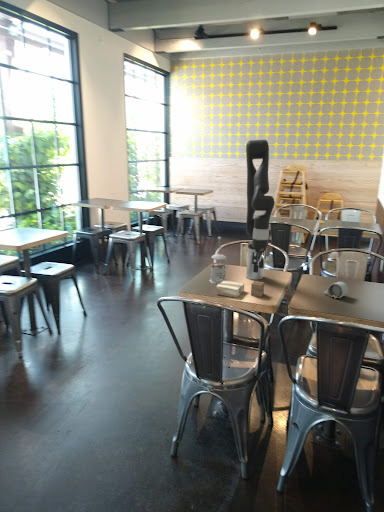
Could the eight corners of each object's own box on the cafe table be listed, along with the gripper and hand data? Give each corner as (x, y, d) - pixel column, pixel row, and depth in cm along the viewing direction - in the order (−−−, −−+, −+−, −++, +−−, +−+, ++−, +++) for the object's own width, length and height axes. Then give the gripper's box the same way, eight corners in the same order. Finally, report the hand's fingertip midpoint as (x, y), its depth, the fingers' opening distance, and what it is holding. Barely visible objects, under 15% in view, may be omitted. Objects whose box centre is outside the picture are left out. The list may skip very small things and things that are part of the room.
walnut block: (254, 292, 193) (254, 281, 192) (263, 294, 191) (264, 282, 190) (250, 295, 189) (251, 283, 187) (260, 297, 187) (261, 285, 185)
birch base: (224, 287, 199) (224, 280, 198) (244, 291, 195) (244, 283, 194) (215, 293, 190) (215, 286, 189) (236, 297, 185) (236, 289, 184)
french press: (205, 280, 209) (206, 236, 203) (219, 276, 217) (221, 233, 210) (218, 285, 202) (219, 239, 196) (232, 281, 210) (234, 236, 203)
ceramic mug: (348, 296, 189) (350, 281, 188) (341, 300, 184) (343, 285, 182) (327, 291, 196) (329, 277, 195) (320, 295, 191) (322, 280, 189)
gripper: (257, 234, 190) (255, 265, 194) (248, 239, 178) (246, 272, 182) (272, 236, 187) (270, 267, 191) (263, 241, 175) (261, 275, 179)
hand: (258, 270), depth 187 cm, fingers open, 8 cm apart
